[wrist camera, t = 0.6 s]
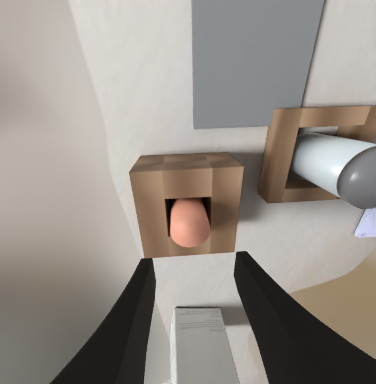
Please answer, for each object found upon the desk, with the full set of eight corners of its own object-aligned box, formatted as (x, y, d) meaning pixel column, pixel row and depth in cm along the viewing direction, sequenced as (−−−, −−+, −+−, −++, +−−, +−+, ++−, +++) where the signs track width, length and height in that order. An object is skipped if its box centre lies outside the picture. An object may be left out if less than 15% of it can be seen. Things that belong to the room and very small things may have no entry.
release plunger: (202, 186, 18) (211, 213, 13) (201, 213, 19) (210, 245, 15) (170, 188, 18) (168, 216, 13) (172, 215, 19) (171, 248, 15)
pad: (322, -16, 13) (329, -22, 13) (292, 124, 18) (296, 125, 17) (191, -17, 13) (192, -22, 12) (193, 128, 17) (194, 128, 17)
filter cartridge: (330, 131, 18) (430, 146, 11) (317, 171, 20) (396, 207, 13) (288, 132, 18) (363, 149, 11) (280, 173, 20) (339, 210, 13)
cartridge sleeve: (360, 105, 17) (387, 105, 15) (330, 188, 21) (349, 198, 19) (271, 108, 17) (285, 109, 15) (257, 192, 21) (267, 203, 19)
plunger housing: (227, 152, 19) (243, 166, 14) (222, 222, 22) (234, 252, 18) (140, 156, 18) (129, 172, 14) (150, 227, 22) (144, 258, 18)
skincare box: (170, 326, 32) (167, 487, 18) (174, 305, 29) (173, 474, 16) (215, 326, 33) (244, 479, 19) (223, 306, 30) (262, 466, 17)
